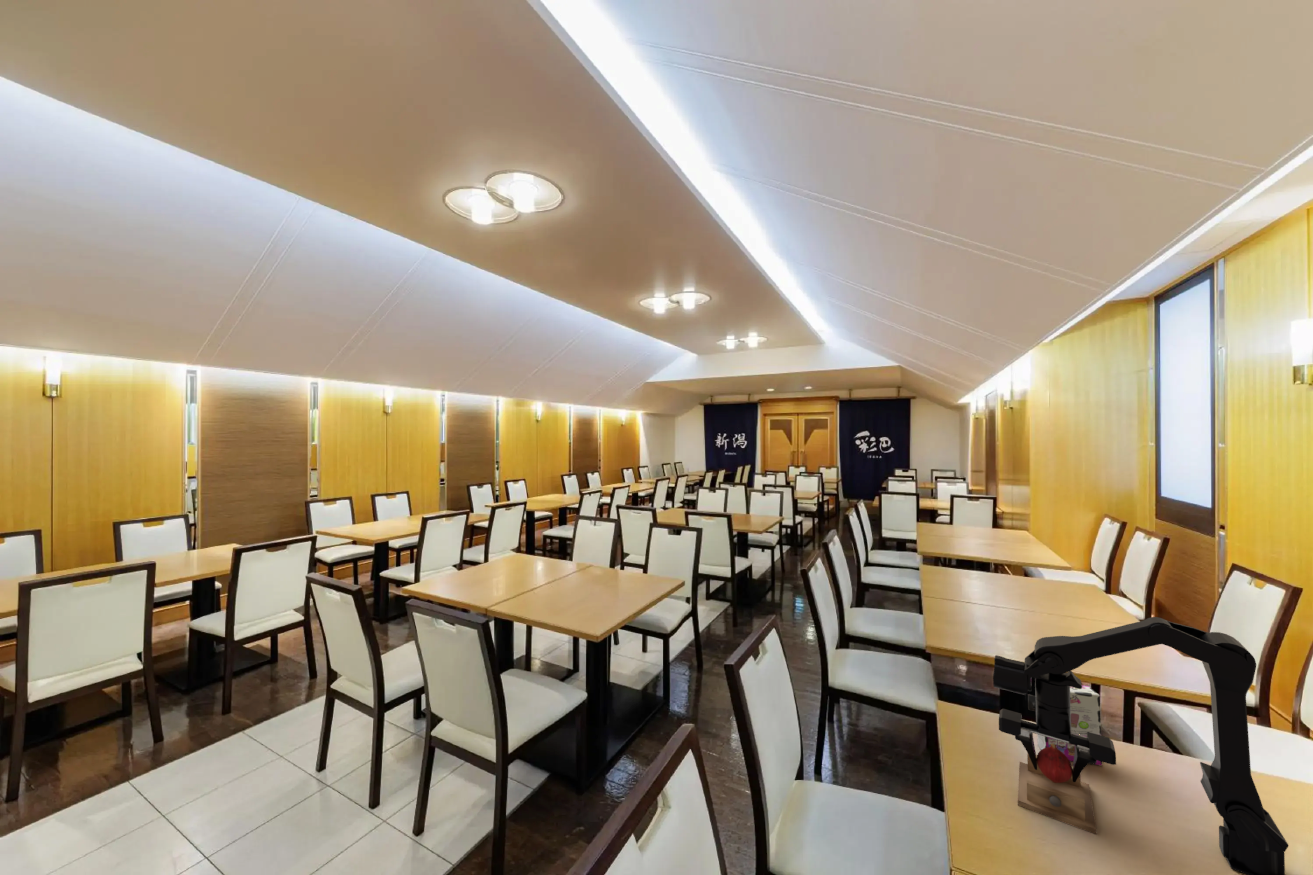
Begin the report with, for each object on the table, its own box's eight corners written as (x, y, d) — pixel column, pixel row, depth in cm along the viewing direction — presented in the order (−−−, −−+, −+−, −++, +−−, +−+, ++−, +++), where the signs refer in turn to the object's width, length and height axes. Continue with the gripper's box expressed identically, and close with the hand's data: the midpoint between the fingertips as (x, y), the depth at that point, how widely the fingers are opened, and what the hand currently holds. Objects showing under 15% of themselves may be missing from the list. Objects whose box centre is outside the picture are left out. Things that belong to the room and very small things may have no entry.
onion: (1079, 794, 97) (1078, 754, 97) (1047, 790, 98) (1046, 751, 98) (1061, 774, 103) (1060, 737, 103) (1031, 771, 104) (1030, 734, 104)
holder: (1089, 788, 103) (1088, 767, 103) (1096, 834, 91) (1095, 810, 91) (1019, 765, 110) (1019, 746, 110) (1017, 804, 99) (1017, 783, 99)
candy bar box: (1090, 753, 114) (1089, 684, 115) (1103, 766, 110) (1101, 695, 110) (1035, 744, 118) (1034, 678, 118) (1045, 757, 113) (1044, 688, 113)
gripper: (1108, 698, 101) (1110, 772, 101) (1000, 673, 113) (1002, 739, 113) (1115, 723, 93) (1117, 803, 92) (997, 693, 104) (999, 764, 104)
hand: (1054, 774), depth 101 cm, fingers closed on onion, 6 cm apart
